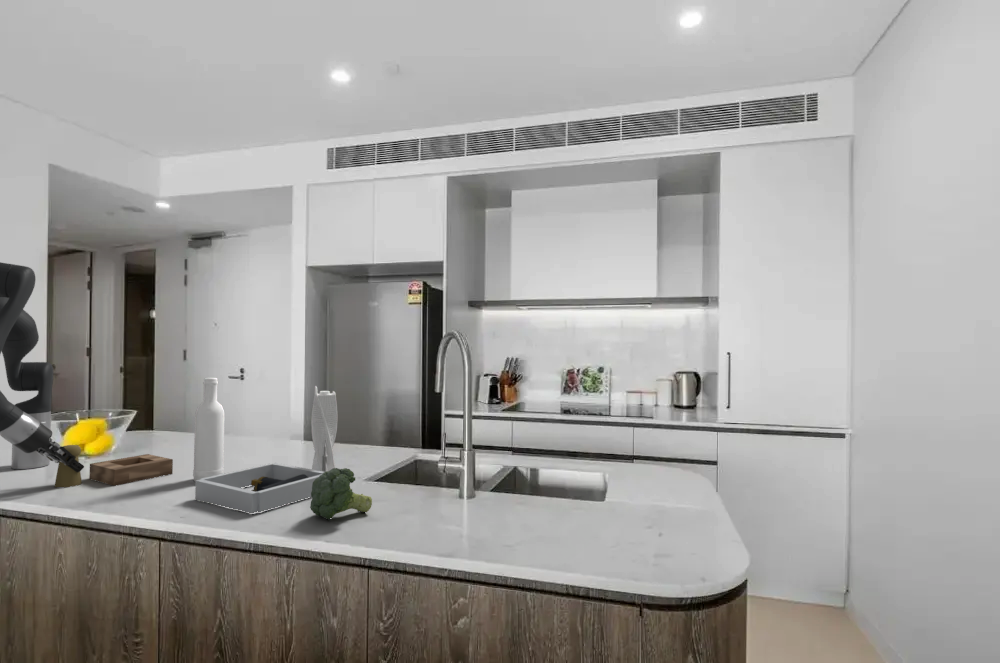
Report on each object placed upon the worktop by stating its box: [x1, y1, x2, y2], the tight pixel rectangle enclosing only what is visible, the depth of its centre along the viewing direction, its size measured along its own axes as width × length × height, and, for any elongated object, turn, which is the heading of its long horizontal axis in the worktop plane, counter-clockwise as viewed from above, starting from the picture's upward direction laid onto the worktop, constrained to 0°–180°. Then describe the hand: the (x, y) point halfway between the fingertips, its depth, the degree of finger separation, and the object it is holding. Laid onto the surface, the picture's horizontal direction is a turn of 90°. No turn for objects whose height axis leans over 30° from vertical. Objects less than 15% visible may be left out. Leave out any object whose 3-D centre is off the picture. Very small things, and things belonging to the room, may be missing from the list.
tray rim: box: [194, 462, 324, 513], centre depth 144 cm, size 24×24×5 cm
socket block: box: [88, 453, 174, 487], centre depth 162 cm, size 14×16×4 cm
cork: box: [54, 444, 83, 488], centre depth 152 cm, size 6×6×11 cm
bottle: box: [192, 377, 225, 483], centre depth 160 cm, size 8×8×30 cm
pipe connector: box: [250, 474, 309, 492], centre depth 142 cm, size 12×5×15 cm
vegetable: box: [309, 467, 373, 520], centre depth 128 cm, size 12×13×15 cm
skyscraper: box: [310, 385, 339, 472], centre depth 160 cm, size 8×8×28 cm
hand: (76, 468), depth 153 cm, fingers closed on cork, 4 cm apart
